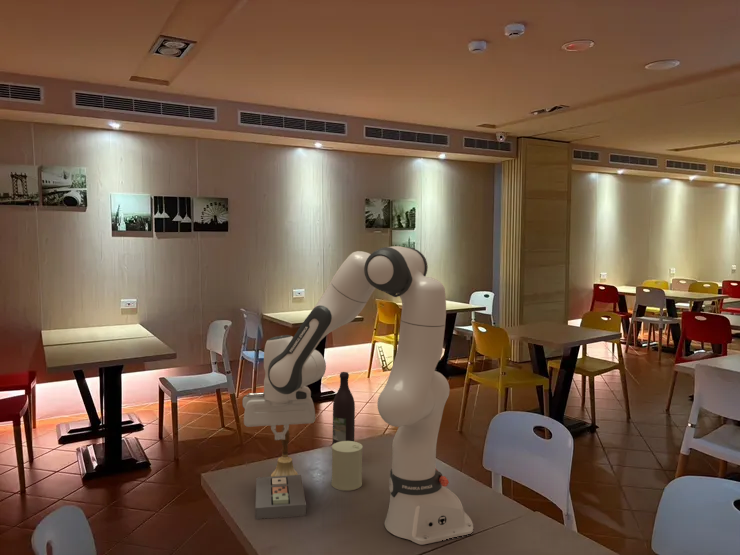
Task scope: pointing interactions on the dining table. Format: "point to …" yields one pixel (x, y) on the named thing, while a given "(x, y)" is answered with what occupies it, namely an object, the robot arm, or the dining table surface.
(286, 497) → the button two
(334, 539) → the dining table surface
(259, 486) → the button panel
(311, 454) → the dining table surface
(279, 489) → the button three
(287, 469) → the hand bell
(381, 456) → the dining table surface
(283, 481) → the button one
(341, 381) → the wine bottle
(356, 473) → the can
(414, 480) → the robot arm
